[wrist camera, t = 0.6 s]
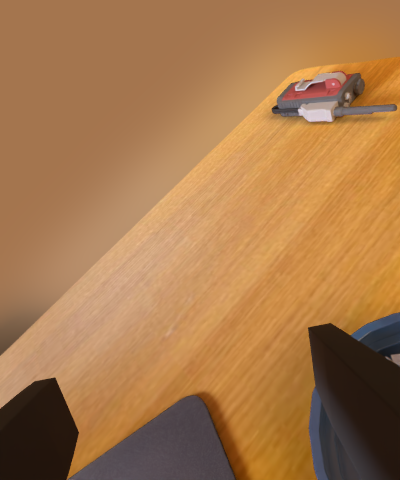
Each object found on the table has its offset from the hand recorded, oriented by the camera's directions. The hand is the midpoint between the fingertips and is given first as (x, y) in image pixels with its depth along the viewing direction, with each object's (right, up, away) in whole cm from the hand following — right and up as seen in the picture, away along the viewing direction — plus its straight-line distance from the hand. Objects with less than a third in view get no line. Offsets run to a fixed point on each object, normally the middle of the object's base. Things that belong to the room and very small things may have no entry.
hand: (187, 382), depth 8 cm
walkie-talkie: (+21, +24, +38) cm, 50 cm away
